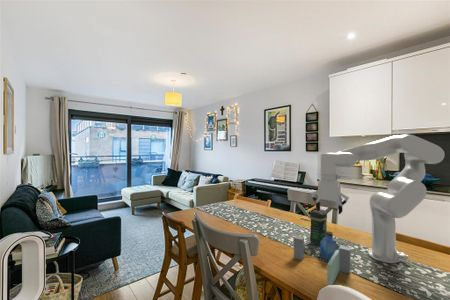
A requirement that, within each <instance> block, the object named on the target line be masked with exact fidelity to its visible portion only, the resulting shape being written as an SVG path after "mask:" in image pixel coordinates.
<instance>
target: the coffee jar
mask: <svg viewBox="0 0 450 300" xmlns="http://www.w3.org/2000/svg"><path fill="white" fill-rule="evenodd" d="M309 215H310V216H309V218H310V233H309V241H310V243H311V244H313V245H315V246H316V245H317V246H320V241H321V240H322V239H323V238H326V231H328V229H327V227H328V226H327V221H328V212H327V211H326V210H324V209H321V208H320V210H319V211H317V209H315V210H311V211H310V214H309Z"/></svg>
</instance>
